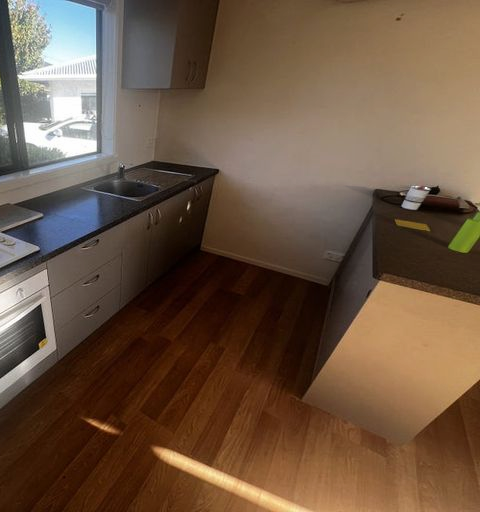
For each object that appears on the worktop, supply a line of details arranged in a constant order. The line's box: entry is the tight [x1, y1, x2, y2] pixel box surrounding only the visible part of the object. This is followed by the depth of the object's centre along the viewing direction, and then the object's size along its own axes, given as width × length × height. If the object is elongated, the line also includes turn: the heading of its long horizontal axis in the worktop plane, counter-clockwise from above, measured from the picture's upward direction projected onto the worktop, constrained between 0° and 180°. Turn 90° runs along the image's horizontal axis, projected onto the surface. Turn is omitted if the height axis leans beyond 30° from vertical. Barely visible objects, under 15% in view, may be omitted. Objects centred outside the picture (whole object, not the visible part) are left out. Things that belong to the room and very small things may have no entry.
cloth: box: [394, 219, 431, 232], centre depth 147 cm, size 12×10×1 cm
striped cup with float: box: [400, 185, 432, 211], centre depth 166 cm, size 10×8×12 cm
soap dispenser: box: [447, 202, 480, 254], centre depth 118 cm, size 6×7×20 cm
